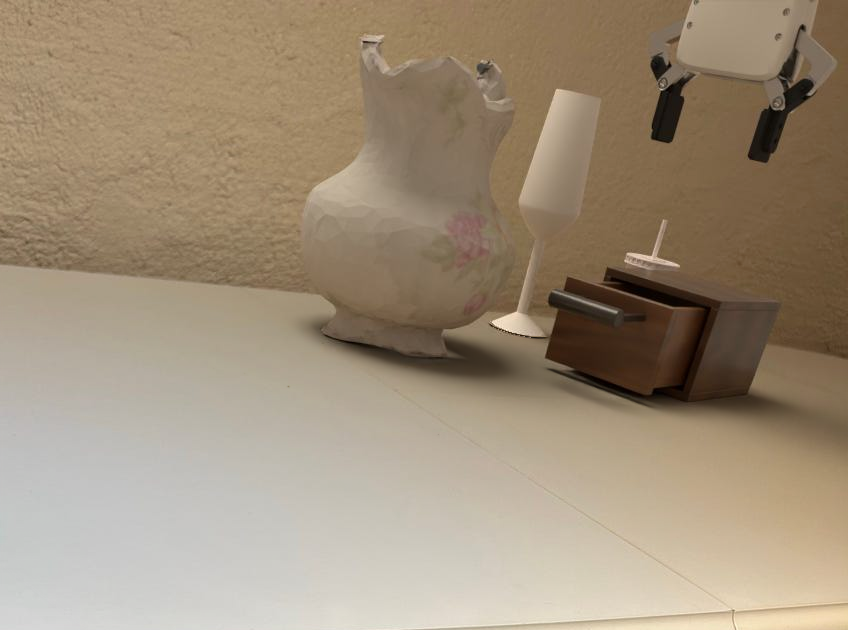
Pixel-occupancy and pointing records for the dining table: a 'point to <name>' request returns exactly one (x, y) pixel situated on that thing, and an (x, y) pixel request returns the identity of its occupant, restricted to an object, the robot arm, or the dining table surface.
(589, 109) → the champagne flute
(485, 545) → the dining table surface
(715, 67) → the robot arm
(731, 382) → the cabinet
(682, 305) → the drawer
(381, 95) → the ceramic pitcher
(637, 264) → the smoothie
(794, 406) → the dining table surface
